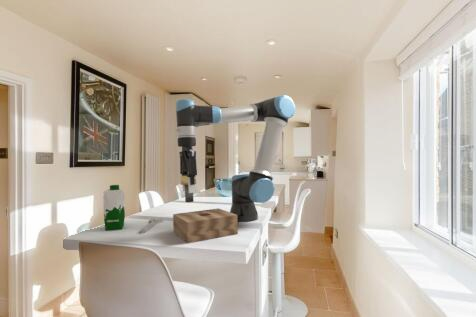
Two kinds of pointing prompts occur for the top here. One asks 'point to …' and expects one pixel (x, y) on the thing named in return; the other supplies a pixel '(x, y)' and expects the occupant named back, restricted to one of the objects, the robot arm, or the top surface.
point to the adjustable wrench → (151, 224)
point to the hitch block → (204, 225)
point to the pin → (185, 182)
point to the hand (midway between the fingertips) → (189, 191)
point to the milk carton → (114, 208)
